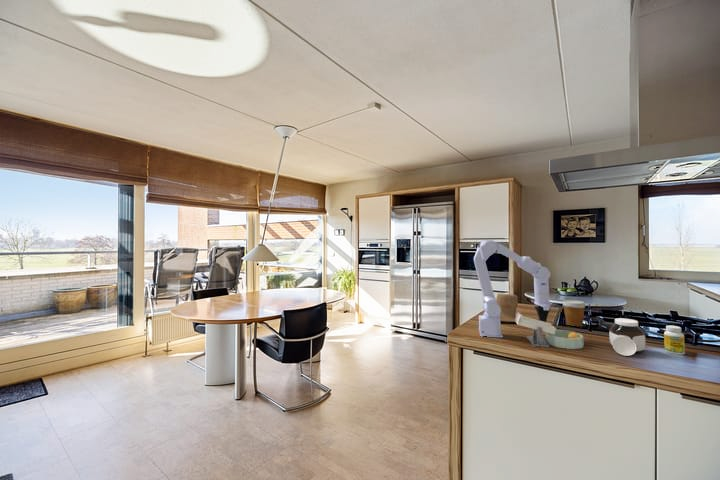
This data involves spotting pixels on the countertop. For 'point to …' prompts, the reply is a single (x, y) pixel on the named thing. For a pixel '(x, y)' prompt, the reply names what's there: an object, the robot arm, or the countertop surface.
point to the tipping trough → (534, 323)
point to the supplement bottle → (674, 340)
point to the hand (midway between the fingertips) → (542, 322)
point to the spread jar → (627, 337)
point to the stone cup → (507, 307)
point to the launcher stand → (537, 339)
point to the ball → (573, 335)
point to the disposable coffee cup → (574, 312)
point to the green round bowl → (564, 340)
